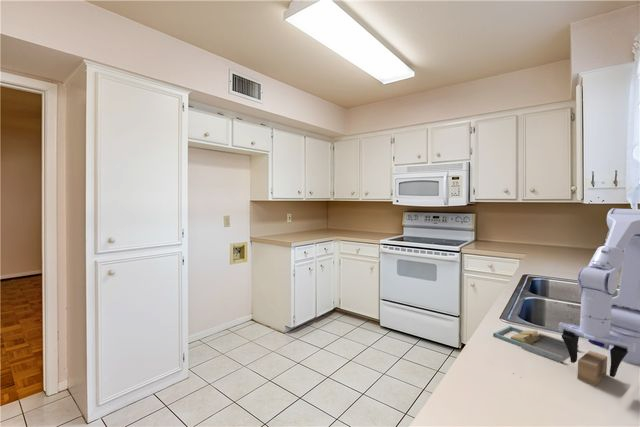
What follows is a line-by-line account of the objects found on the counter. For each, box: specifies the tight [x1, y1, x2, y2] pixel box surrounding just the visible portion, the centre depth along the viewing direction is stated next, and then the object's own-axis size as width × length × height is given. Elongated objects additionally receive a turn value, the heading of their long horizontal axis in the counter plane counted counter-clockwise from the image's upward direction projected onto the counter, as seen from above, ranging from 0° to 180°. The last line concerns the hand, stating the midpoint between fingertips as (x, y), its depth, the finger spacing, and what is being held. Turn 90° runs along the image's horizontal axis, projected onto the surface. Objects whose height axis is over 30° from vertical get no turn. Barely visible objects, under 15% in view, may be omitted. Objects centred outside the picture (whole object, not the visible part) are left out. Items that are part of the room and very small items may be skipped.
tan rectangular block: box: [576, 350, 608, 387], centre depth 78 cm, size 8×4×6 cm, turn 124°
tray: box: [492, 325, 525, 347], centre depth 101 cm, size 11×8×2 cm
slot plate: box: [520, 332, 579, 364], centre depth 93 cm, size 13×10×3 cm
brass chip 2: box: [518, 330, 540, 342], centre depth 100 cm, size 4×4×2 cm
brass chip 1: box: [510, 333, 532, 345], centre depth 97 cm, size 4×4×2 cm
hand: (592, 368), depth 78 cm, fingers open, 7 cm apart
